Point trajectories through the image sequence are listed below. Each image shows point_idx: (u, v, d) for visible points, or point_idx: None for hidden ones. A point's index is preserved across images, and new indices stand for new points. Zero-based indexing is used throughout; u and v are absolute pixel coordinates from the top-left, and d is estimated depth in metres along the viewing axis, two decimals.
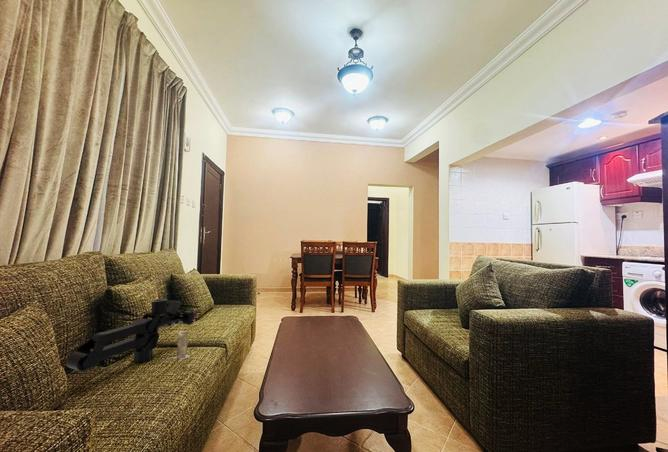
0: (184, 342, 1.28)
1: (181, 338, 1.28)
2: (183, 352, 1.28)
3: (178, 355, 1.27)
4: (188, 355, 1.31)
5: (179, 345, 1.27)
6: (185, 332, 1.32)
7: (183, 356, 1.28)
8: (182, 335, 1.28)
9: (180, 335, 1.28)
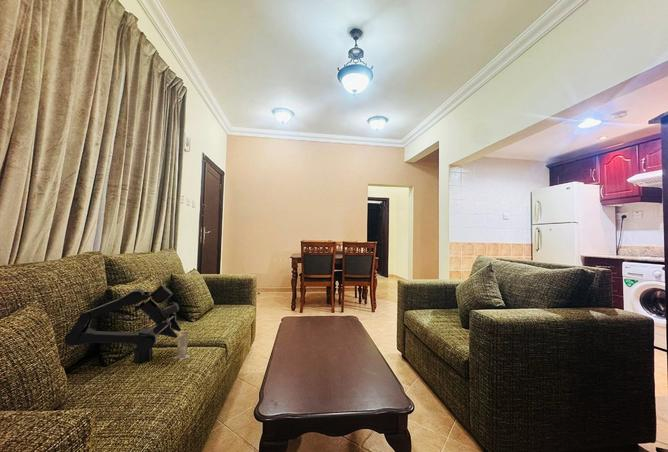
0: (184, 342, 1.28)
1: (181, 338, 1.28)
2: (183, 352, 1.28)
3: (178, 355, 1.27)
4: (188, 355, 1.31)
5: (179, 345, 1.27)
6: (185, 332, 1.32)
7: (183, 356, 1.28)
8: (182, 335, 1.28)
9: (180, 335, 1.28)
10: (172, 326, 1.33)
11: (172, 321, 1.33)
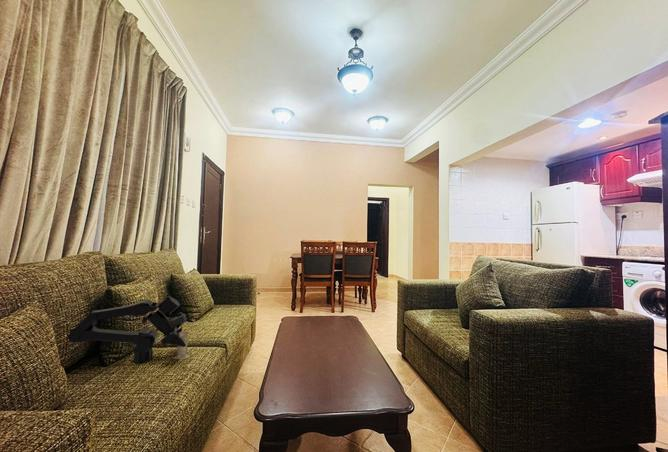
0: (184, 342, 1.28)
1: (181, 338, 1.28)
2: (183, 352, 1.28)
3: (178, 355, 1.27)
4: (188, 355, 1.31)
5: None
6: (185, 332, 1.32)
7: (183, 356, 1.28)
8: (182, 335, 1.28)
9: (180, 335, 1.28)
10: None
11: None
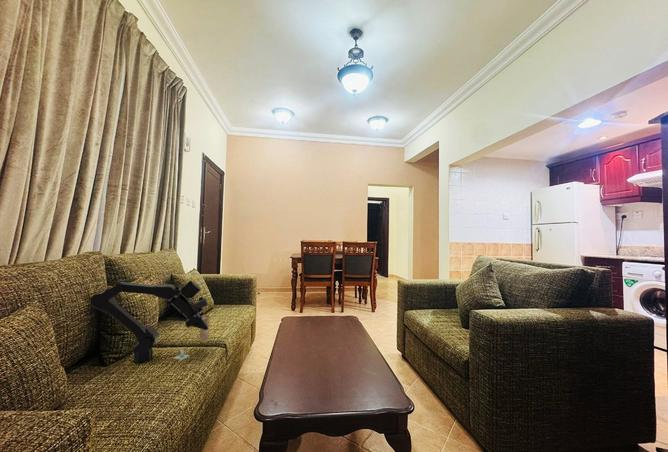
0: (206, 325, 1.31)
1: (203, 321, 1.31)
2: (205, 335, 1.31)
3: (201, 338, 1.30)
4: (188, 355, 1.31)
5: None
6: (206, 316, 1.35)
7: (205, 339, 1.31)
8: (204, 318, 1.31)
9: (202, 318, 1.31)
10: None
11: None
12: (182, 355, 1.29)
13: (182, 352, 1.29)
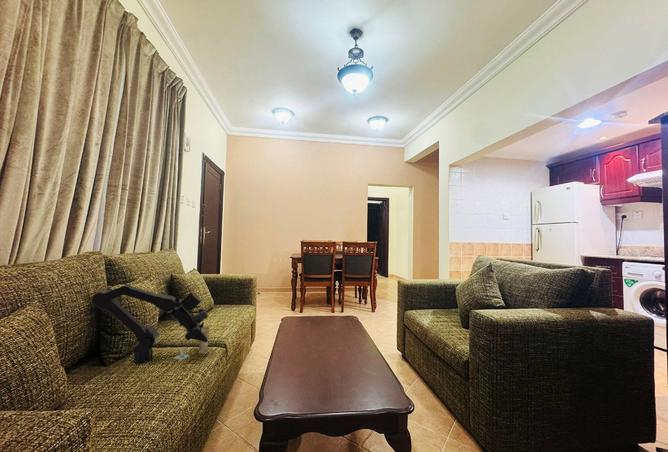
0: (206, 337, 1.31)
1: (203, 333, 1.31)
2: (205, 347, 1.31)
3: (200, 350, 1.30)
4: (188, 355, 1.31)
5: None
6: (206, 328, 1.35)
7: (205, 351, 1.31)
8: (204, 330, 1.31)
9: (202, 330, 1.31)
10: None
11: None
12: (182, 355, 1.29)
13: (182, 352, 1.29)
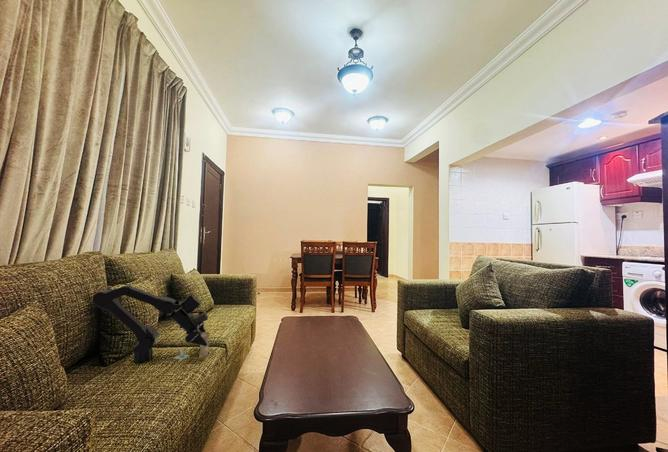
0: None
1: None
2: (205, 352, 1.31)
3: (200, 355, 1.30)
4: (188, 355, 1.31)
5: (201, 346, 1.30)
6: (206, 333, 1.35)
7: (205, 356, 1.31)
8: (204, 336, 1.31)
9: (202, 336, 1.31)
10: None
11: (201, 329, 1.37)
12: (182, 355, 1.29)
13: (182, 352, 1.29)
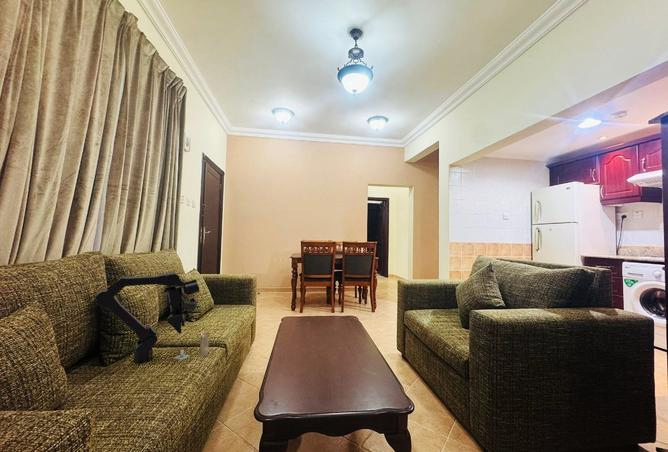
0: (206, 343, 1.31)
1: (203, 339, 1.31)
2: (205, 352, 1.31)
3: (200, 355, 1.30)
4: (188, 355, 1.31)
5: (201, 346, 1.30)
6: (206, 333, 1.35)
7: (205, 356, 1.31)
8: (204, 336, 1.31)
9: (202, 336, 1.31)
10: None
11: None
12: (182, 355, 1.29)
13: (182, 352, 1.29)
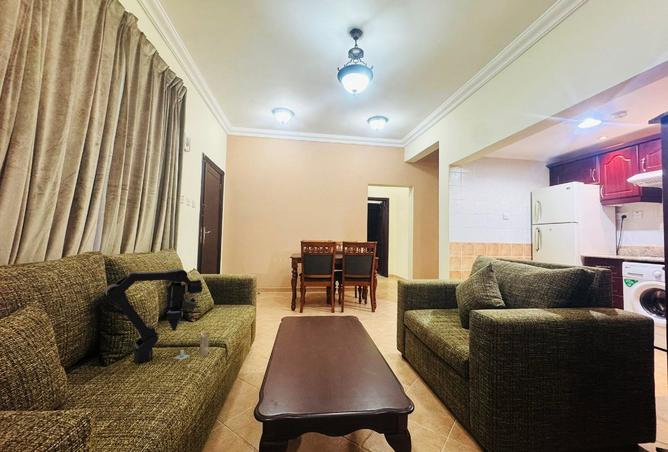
0: (206, 343, 1.31)
1: (203, 339, 1.31)
2: (205, 352, 1.31)
3: (200, 355, 1.30)
4: (188, 355, 1.31)
5: (201, 346, 1.30)
6: (206, 333, 1.35)
7: (205, 356, 1.31)
8: (204, 336, 1.31)
9: (202, 336, 1.31)
10: None
11: None
12: (182, 355, 1.29)
13: (182, 352, 1.29)
